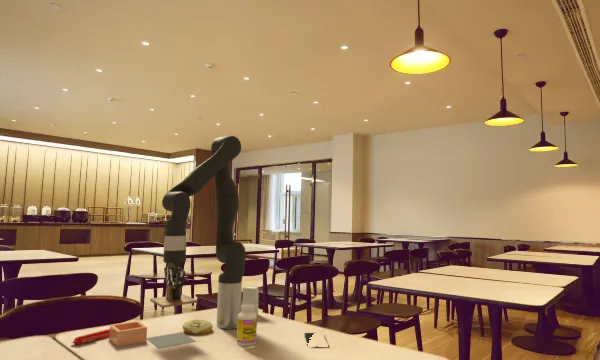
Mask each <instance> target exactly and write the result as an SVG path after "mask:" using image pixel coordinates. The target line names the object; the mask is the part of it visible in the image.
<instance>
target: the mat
mask: <svg viewBox="0 0 600 360" xmlns="http://www.w3.org/2000/svg"><path fill="white" fill-rule="evenodd" d="M146 341H148V342H149V343H151V344H152V345H153V346H154V347H155V348H157V349H158V350H160V349H165V348H170V347H176V346H182V345H186V344H192V343H197V341H196V340H195V339H194V338H192V337H190V336H188V335H187V334H186V333H185V332H182V331H180V332H173V333H169V334H168V333H167V334H163V335H157V336H152V337H151V336H150V337H147V339H146Z"/></svg>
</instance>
